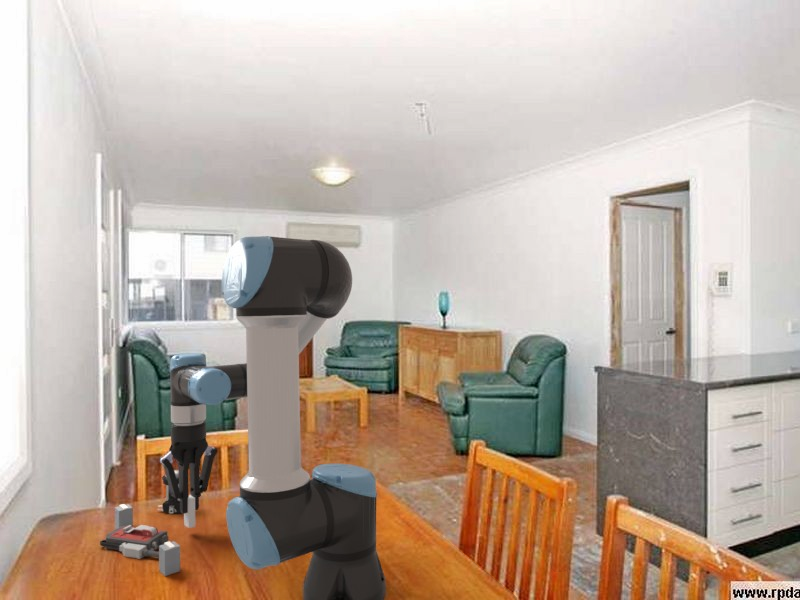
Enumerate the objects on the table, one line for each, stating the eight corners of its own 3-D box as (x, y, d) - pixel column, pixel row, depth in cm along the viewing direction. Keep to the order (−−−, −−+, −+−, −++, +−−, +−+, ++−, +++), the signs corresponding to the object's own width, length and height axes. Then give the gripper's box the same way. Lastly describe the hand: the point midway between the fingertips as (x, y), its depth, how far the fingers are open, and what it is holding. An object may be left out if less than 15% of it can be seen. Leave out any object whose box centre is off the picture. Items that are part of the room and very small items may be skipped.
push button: (153, 515, 138) (153, 475, 138) (162, 507, 143) (162, 468, 143) (180, 516, 138) (179, 475, 138) (188, 507, 143) (188, 468, 143)
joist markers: (180, 570, 111) (180, 544, 111) (165, 576, 109) (164, 549, 109) (128, 524, 133) (128, 502, 133) (114, 528, 131) (114, 506, 130)
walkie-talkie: (91, 554, 119) (172, 566, 114) (91, 533, 119) (172, 544, 114) (121, 536, 127) (198, 546, 122) (121, 517, 127) (198, 526, 122)
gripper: (208, 415, 134) (209, 513, 134) (153, 424, 125) (154, 529, 125) (223, 420, 129) (224, 522, 129) (166, 429, 120) (167, 539, 120)
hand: (189, 525), depth 127 cm, fingers closed
